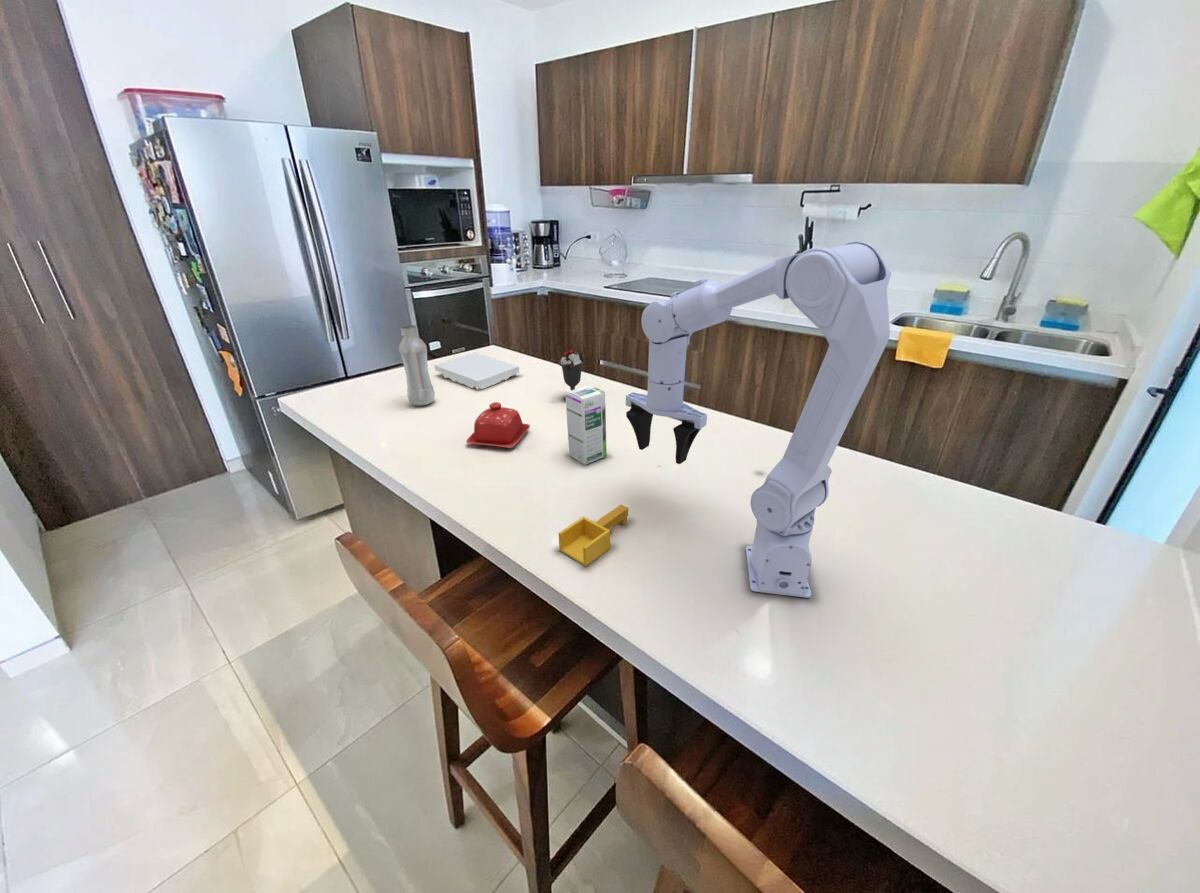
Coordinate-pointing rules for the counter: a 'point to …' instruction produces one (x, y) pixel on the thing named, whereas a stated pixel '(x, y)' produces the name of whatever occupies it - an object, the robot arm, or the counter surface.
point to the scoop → (590, 536)
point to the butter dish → (498, 427)
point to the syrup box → (586, 423)
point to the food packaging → (477, 370)
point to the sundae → (571, 367)
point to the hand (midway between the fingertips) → (662, 454)
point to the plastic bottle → (416, 367)
